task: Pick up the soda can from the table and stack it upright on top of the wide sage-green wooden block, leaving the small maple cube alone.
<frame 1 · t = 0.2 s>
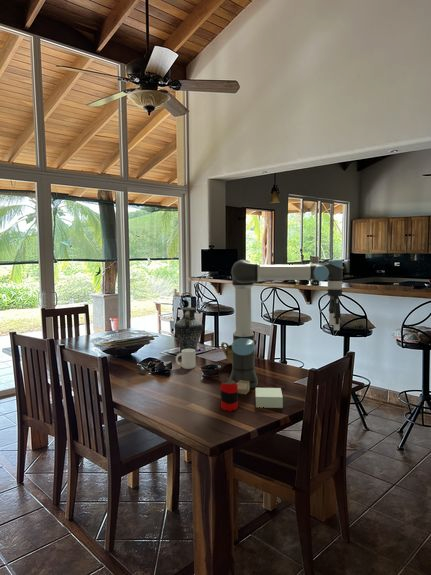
hand: (334, 327, 231), 28 cm above the table, tool pointing down, fingers open, 13 cm apart
maple cube: (242, 392, 214), on the table
soda can: (229, 408, 193), on the table
green block: (268, 402, 199), on the table
jug: (189, 351, 293), on the table
mug: (185, 367, 256), on the table
ceramic bowl: (239, 364, 261), on the table
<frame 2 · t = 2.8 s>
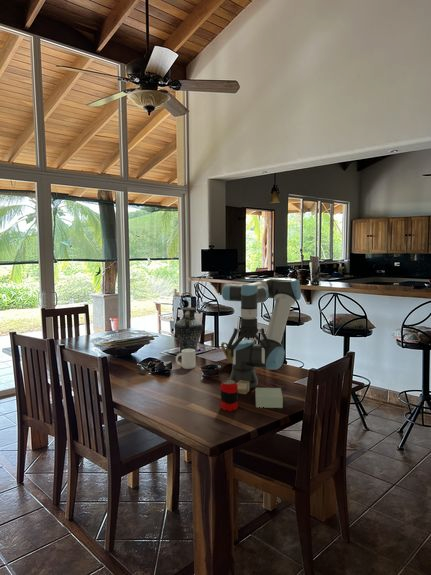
hand: (248, 363, 197), 19 cm above the table, tool pointing down, fingers open, 13 cm apart
nothing on the table moved.
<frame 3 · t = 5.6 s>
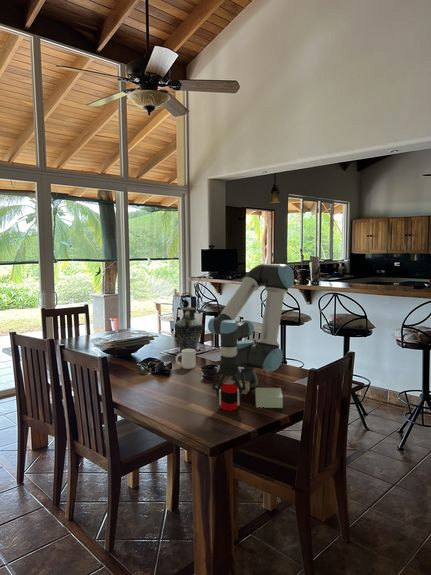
hand: (229, 404, 193), 2 cm above the table, tool pointing down, fingers closed on soda can, 7 cm apart
soda can: (229, 408, 193), on the table, touching gripper
everything else where it was.
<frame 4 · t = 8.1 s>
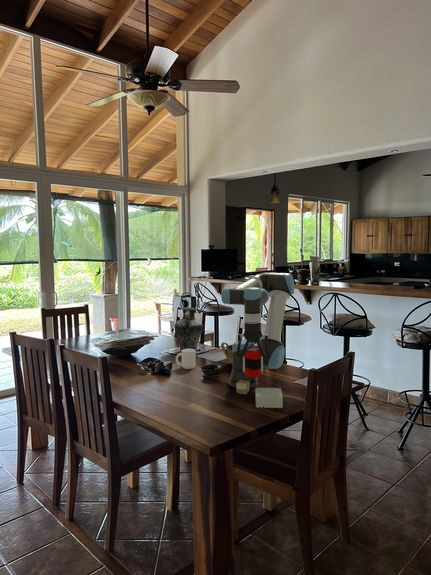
hand: (253, 371, 195), 16 cm above the table, tool pointing down, fingers closed on soda can, 7 cm apart
soda can: (252, 375, 195), point 14 cm above the table, touching gripper
everything else where it was.
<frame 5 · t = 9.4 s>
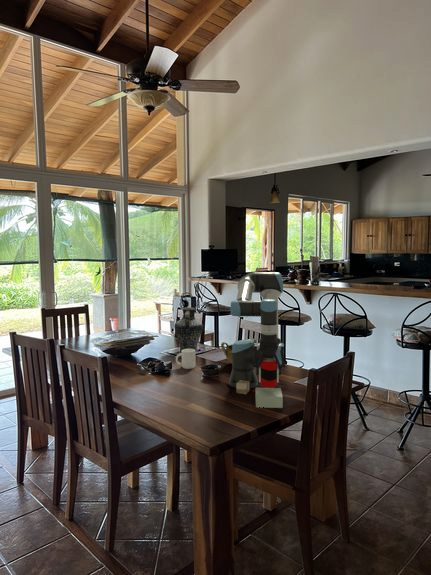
hand: (268, 381, 198), 10 cm above the table, tool pointing down, fingers closed on soda can, 7 cm apart
soda can: (268, 385, 198), point 8 cm above the table, touching gripper
everything else where it was.
when the fingers open (7 cm above the table, at t = 10.6 s): soda can stays where it is, resting on green block.
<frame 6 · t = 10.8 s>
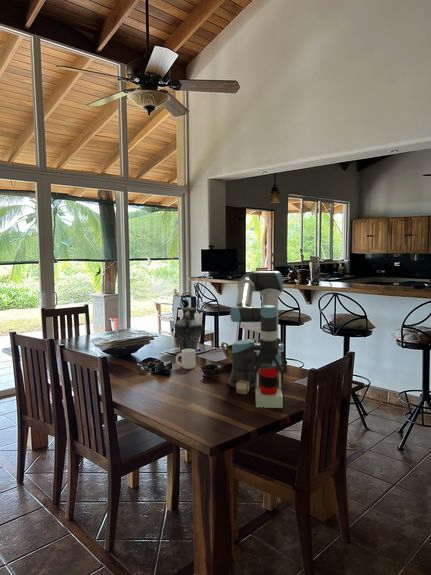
hand: (268, 386, 198), 8 cm above the table, tool pointing down, fingers open, 9 cm apart
soda can: (268, 392, 198), point 5 cm above the table, touching green block
everything else where it was.
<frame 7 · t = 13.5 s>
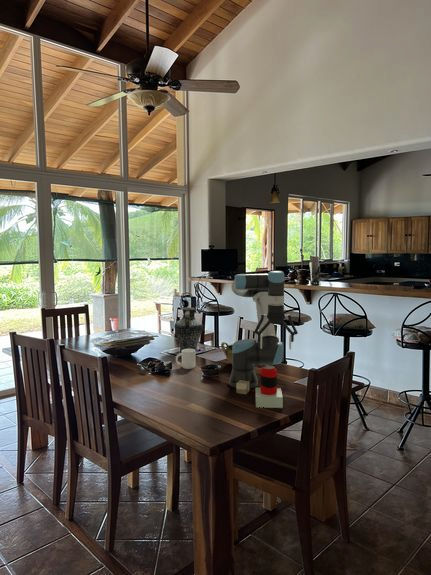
hand: (275, 348, 203), 24 cm above the table, tool pointing down, fingers open, 13 cm apart
nothing on the table moved.
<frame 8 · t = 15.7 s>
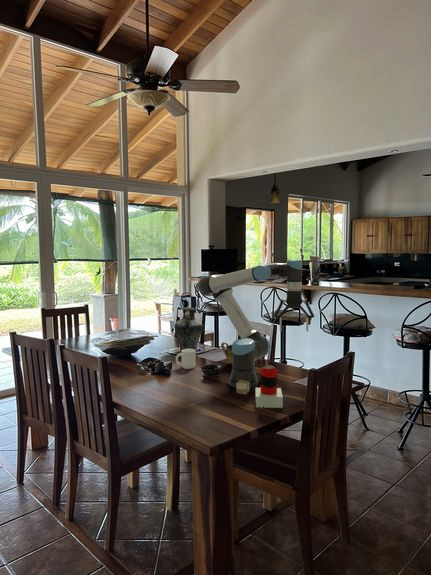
hand: (293, 331, 219), 29 cm above the table, tool pointing down, fingers open, 13 cm apart
nothing on the table moved.
at the end: soda can inside the target area on the green block (0.0 cm from its centre), point 4.8 cm above the green block's base; soda can tilted 0°; the gripper is holding nothing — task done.
